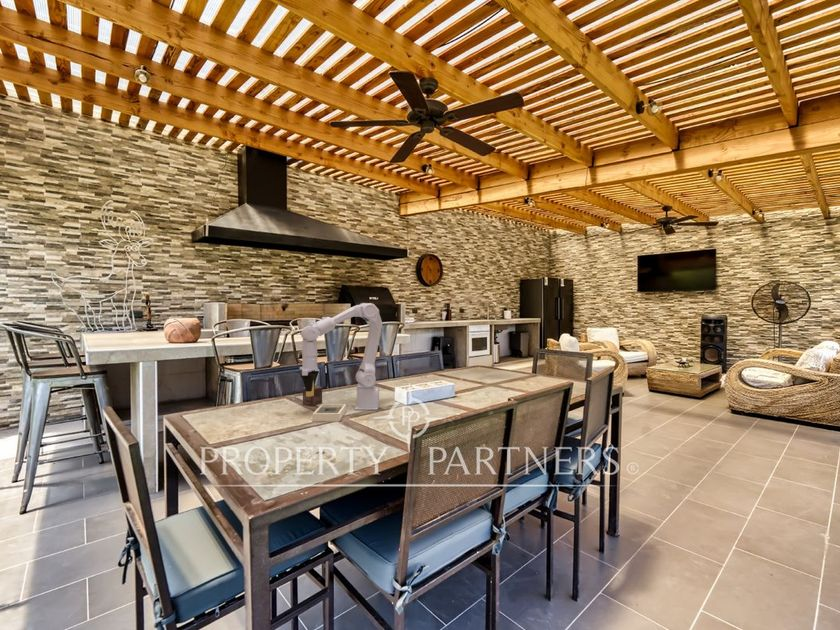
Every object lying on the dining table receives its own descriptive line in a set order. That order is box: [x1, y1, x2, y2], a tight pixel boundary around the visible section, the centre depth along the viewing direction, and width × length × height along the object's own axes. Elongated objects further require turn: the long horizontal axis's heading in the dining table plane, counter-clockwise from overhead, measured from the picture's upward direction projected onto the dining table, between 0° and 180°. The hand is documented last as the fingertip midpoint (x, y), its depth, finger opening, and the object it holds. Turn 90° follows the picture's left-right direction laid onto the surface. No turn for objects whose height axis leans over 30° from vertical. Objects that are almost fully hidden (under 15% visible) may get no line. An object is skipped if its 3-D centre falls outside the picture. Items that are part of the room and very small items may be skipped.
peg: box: [306, 380, 314, 397], centre depth 161 cm, size 3×3×7 cm
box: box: [302, 385, 323, 407], centre depth 177 cm, size 6×6×7 cm
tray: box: [312, 403, 347, 423], centre depth 158 cm, size 10×14×3 cm
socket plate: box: [318, 407, 342, 413], centre depth 158 cm, size 8×8×2 cm
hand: (310, 390), depth 161 cm, fingers closed on peg, 3 cm apart
